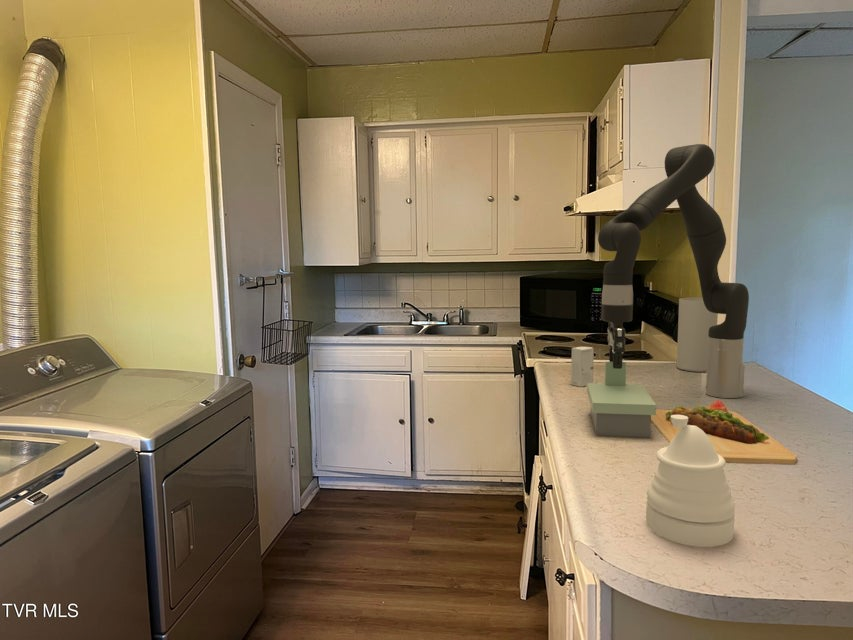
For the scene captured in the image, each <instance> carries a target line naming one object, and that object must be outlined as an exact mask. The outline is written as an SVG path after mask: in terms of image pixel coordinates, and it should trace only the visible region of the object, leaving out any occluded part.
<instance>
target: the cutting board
mask: <svg viewBox="0 0 853 640" xmlns="http://www.w3.org/2000/svg"><path fill="white" fill-rule="evenodd" d="M671 415H684V416H687V417H688V422H687V425H693V426H697V427H698V428H700V429H701V430H703V431H704V433H705V434H706V435H707V436H708V438H709V439H710V441H711V442H712V444H713V446H714V448H715V450H716V452H717V454H719V455H720V456H722V457H723V458H724V460H725V462H726V463H728V464H729V463H731V464H761V463H774V465H795V464H796V463H795V462H797V461H798V459H797V458H798V455H796V454H795V453H794V452H792V451H791V450H790V449H789V448H787V447H786V446H784V445H783V444H781V442H778V441H777V440H776V439H774V438H773V437H772V436H770V435H769V434H767V433H765V431H763V430H761V428H759V427H758V426H756V425H755V424H753V423H752V422H751V421H749V420H748V419H746V418H745V417H743V416H742V414H741V415H740V414H739V413H738V412H734V411H729V410H728V409H727V407H726V406H725V404H724V403H723V401H721V400H720V399H717V400H716V401H715V402H713V403H711V404H710V406H703V405H702V406H701V405H697V406H694V408H692V409H691V408H689V407H684V406H682V405H679V406H675V408H674V409H673V410H671V409H656V415H651V424H653V426H655V428H656V429H657V430H658V432H660V434H661V435H662V436H663V438H665V439H666V441H667V442H668V443H669V444H670V442H671V441H672V439H673V438H674V436H675V435H676V434H677V433H678V432H679V431H680V430H681V429H677V428H675V427H674V426H673V424H672V422H671ZM726 463H725V464H726Z"/></svg>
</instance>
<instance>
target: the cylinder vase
mask: <svg viewBox="0 0 853 640" xmlns="http://www.w3.org/2000/svg"><path fill="white" fill-rule="evenodd" d="M718 315H719V314H718V313H712V312H710V311H708V310H707V309H706V307H705V305H704V302H703V298H702V297H681V298H678V325H677V327H678V328H677V347H676V348H677V351H676V353H677V355H676V366H677V368H678V369H679V370H682V371H685V372H691V373H707V356H708V332H709V328H710V327H712V326H715V325H718V318H719V317H718Z"/></svg>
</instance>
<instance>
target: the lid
mask: <svg viewBox="0 0 853 640" xmlns="http://www.w3.org/2000/svg"><path fill="white" fill-rule="evenodd" d="M604 367H605V368H604V383H603V382H601V383H598V382H593V383H587V386H586V393H587V396H588V397H587V398H588V400H589V404H590V409H591V408H592V412H593V413H608V414H635V415H656V410H657V404H656V403H655V401H654V399H653V398H652V397H651V395H650V394H649V392H648V391H647V389H646V388H645V387H644V385H643V384H636V383H627V382H626V379H627V361H622V368H621V369H615V368H613V362H610V361H605V362H604Z"/></svg>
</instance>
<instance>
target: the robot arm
mask: <svg viewBox="0 0 853 640" xmlns="http://www.w3.org/2000/svg"><path fill="white" fill-rule="evenodd" d="M715 161H716V160H715V153H714V151H713V149H712V148H711V147H710V146H709V145H707V144H704V143H703V144H702V143H696V144H689V145H682V146H677V147H673V148H671V149H669V150H668V151H667V153H666V154H665V157H664V171H665V175H666V178H665V179H663V180H662V181H660V182H658V183H656V184H655V185H653V186H651V187H649V188H648V189H647V190H645V191H644V192H643V193H641V195H639V196H638V197H637V198H636V199H635V200H634V201H633V202H632V203H631V204H630V205H629V207H628V208H627V209H625V210H623V211H622V212H620V213H619V214H617V215H616V216H614V217H613V218H611V219H609V221H607V222H606V223H605V224H604V225H603V226H602V227H601V228H600V231H599V233H598V236H597V242H598V245H599V246H600V248H601V249H602V250H604V251H607V252H616V253H615V257H614V259H613V260H610V261H608V262H605V264H604V266H603V280H602V281H603V285H602V292H601V315H600V316H601V320H602V321H603V322H607V323H608V324H607V325H608V327H607V343H608V345H607V346H608V349H609V353H608V354H609V355H608V362H613V368H615V369H621V368H622V362H623V356H624V355H623V354H624V353H625V352H626V349H625V347H626V338H625V337H626V328H624V326H623V323H630V322H632V321H633V314H634V313H633V311H634V309H633V308H634V291H633V290H634V289H633V275H634V274H633V273H634V269H633V268H634V266H635V263H636V261H637V260H636V259H637V256H638V253H639V251H640V247H641V246H640V245H641V242H642V236H641V232H642V231H643V230H646V229H647V228H648V227H650V226H651V225H652V224H653V223H654V221H655V220H657V218H658V217H659V216H660V215H661V214H662V213H663V212H665V211H666V209H668V207H670V205H672V204H673V203H674V202H675V201H676V202H677V205H678V208H679V210H680V213H681V217H682V219H683V223H684V227H685V230H686V231H685V232H686V235H687V239H688V243H689V246H690V248H691V251H692V255H693V258H694V261H695V265H696V269H697V273H698V274H697V275H698V279H699V286H700V290H701V298H703V302H704V305H705V307H706V309H707V310H708V311H710V312H712V313H718V315H720V314H721V315H725V318H724V321H723V322H721V323H719V324H717V325H715V326H712V327H710V328H709V332H708V356H707V372H706V384H705V394H707V395H708V396H711V397H714V398H721V399H735V398H736V399H738V398H744V385H745V369H746V368H745V365H744V364H743V359H744V358H743V354H744V337H745V332H746V328H747V322H748V321H747V319H748V311H749V304H750V303H749V301H750V300H749V299H750V298H749V297H750V295H749V290H748V287H747V286H746V285H745V284H743V283H740V282H739V283H738V282H722V281H721V279H720V275H719V270H718V267H719V263H720V259H721V257H722V256H723V253H724V251H725V248H726V245H727V236H726V232H725V228H724V225H723V222H722V219H721V217H720V215H719V214H718V212H717V211H716V210H715V209H714V208H713V207H712V206H711V205H710V204H709V202H707V201H706V200H705V199H704V198H703V196H702V195H701V194H700V192H699V191H698V189H697V186H696V185H697V184H699V183H700V182H701V181H703V180H704V179H706V178H707V177H708V176H710V175H709V174H711V172H712V171H713V168H714V166H715Z"/></svg>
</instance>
